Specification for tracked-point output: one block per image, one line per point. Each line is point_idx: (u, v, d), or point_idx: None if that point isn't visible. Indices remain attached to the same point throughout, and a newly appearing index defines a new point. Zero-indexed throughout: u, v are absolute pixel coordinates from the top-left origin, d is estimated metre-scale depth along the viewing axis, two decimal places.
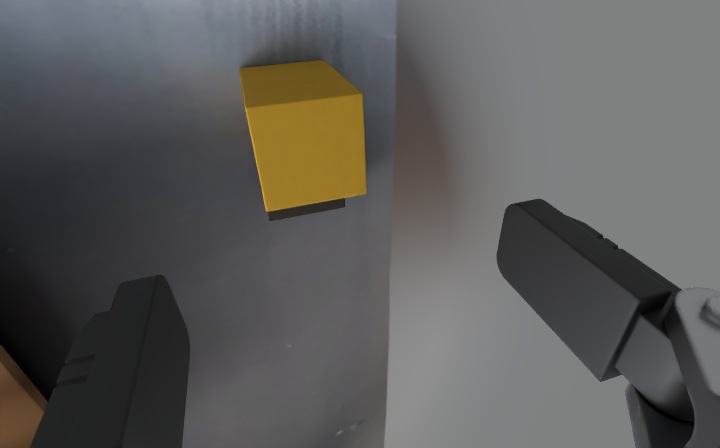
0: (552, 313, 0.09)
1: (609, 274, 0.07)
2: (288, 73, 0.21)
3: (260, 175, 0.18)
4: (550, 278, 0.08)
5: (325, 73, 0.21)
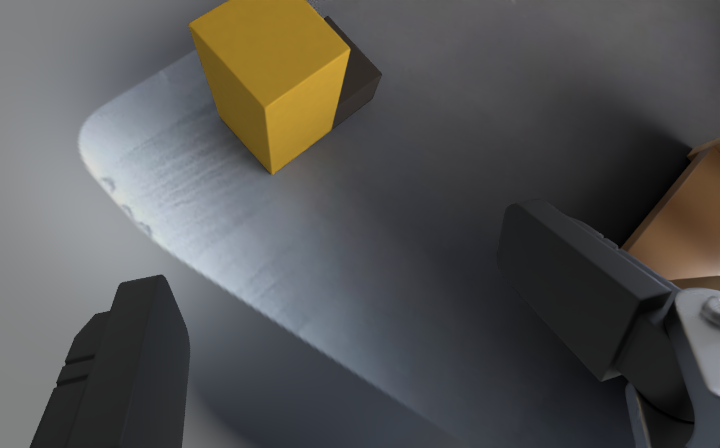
0: (552, 313, 0.09)
1: (609, 274, 0.07)
2: (240, 125, 0.22)
3: (318, 69, 0.18)
4: (550, 278, 0.08)
5: (216, 92, 0.22)
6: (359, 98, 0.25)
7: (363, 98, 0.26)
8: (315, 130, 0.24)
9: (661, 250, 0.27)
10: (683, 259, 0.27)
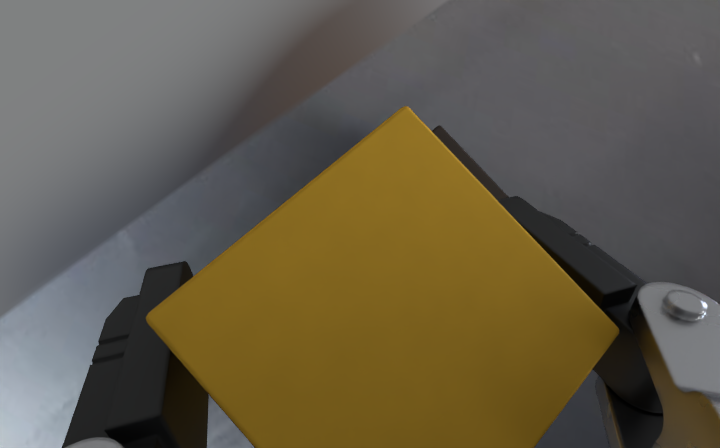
0: None
1: (577, 269, 0.07)
2: None
3: (549, 423, 0.06)
4: None
5: None
6: None
7: None
8: None
9: None
10: None
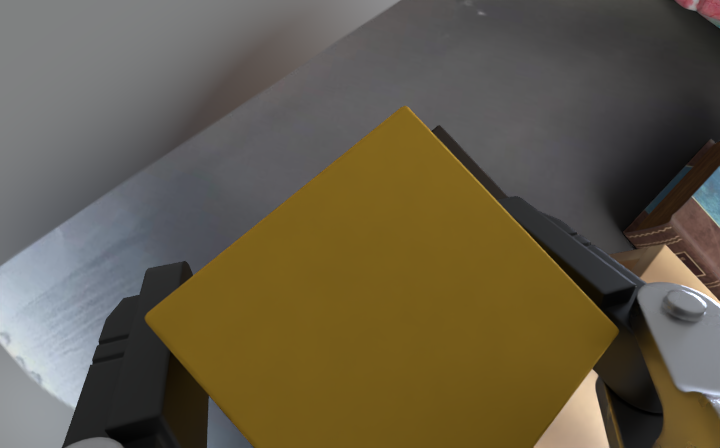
0: None
1: (577, 269, 0.07)
2: None
3: (548, 423, 0.06)
4: None
5: None
6: None
7: None
8: None
9: None
10: None
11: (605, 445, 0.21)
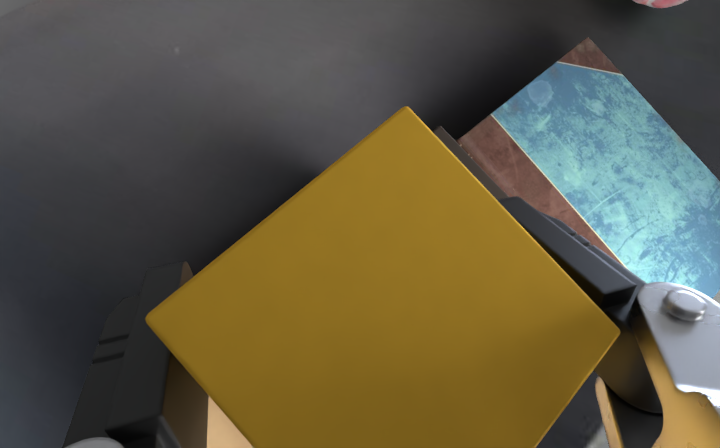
0: None
1: (577, 269, 0.07)
2: None
3: (549, 424, 0.06)
4: None
5: None
6: None
7: None
8: None
9: None
10: None
11: None
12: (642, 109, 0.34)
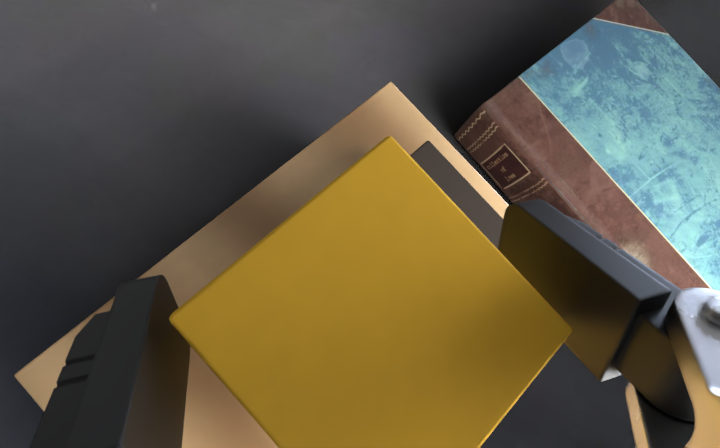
0: None
1: (609, 274, 0.07)
2: None
3: (508, 408, 0.07)
4: (550, 278, 0.08)
5: None
6: None
7: None
8: None
9: None
10: None
11: None
12: (693, 73, 0.30)
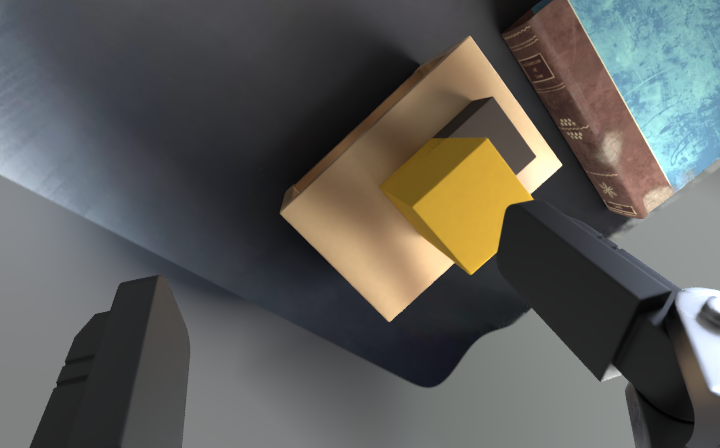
0: (552, 313, 0.09)
1: (609, 274, 0.07)
2: (412, 221, 0.26)
3: None
4: (550, 278, 0.08)
5: (398, 203, 0.24)
6: None
7: None
8: None
9: None
10: None
11: (375, 199, 0.28)
12: None
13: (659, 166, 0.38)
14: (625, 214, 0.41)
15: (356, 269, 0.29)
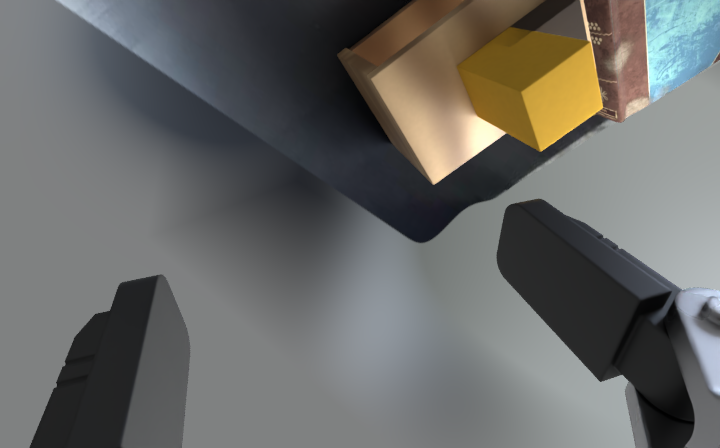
0: (552, 313, 0.09)
1: (609, 274, 0.07)
2: (485, 102, 0.31)
3: (578, 124, 0.27)
4: (550, 278, 0.08)
5: (485, 85, 0.29)
6: None
7: None
8: None
9: (406, 31, 0.38)
10: None
11: (450, 78, 0.32)
12: None
13: (648, 79, 0.46)
14: (607, 117, 0.49)
15: (420, 138, 0.34)
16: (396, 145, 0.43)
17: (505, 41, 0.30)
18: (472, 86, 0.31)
